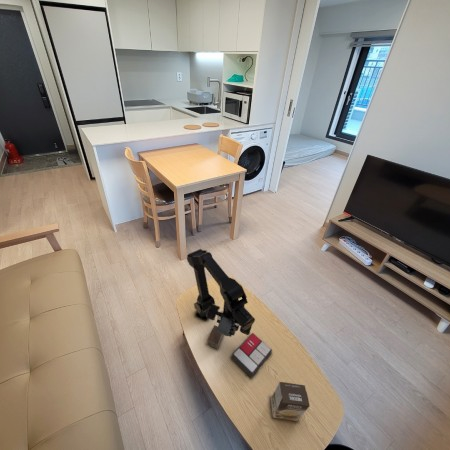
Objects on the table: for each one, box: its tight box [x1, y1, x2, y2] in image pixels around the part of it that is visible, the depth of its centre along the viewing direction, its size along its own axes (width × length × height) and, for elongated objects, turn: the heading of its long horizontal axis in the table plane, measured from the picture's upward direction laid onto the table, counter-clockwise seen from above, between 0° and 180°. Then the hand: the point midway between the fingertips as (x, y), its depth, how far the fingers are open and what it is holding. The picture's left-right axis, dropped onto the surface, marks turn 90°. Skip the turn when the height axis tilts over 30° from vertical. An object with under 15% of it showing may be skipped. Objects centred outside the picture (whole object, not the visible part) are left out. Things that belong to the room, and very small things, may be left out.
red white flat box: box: [231, 332, 273, 379], centre depth 103 cm, size 11×4×15 cm
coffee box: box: [270, 381, 310, 422], centre depth 84 cm, size 9×6×16 cm
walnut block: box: [207, 324, 224, 350], centre depth 109 cm, size 5×8×4 cm, turn 155°
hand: (227, 329), depth 101 cm, fingers closed
